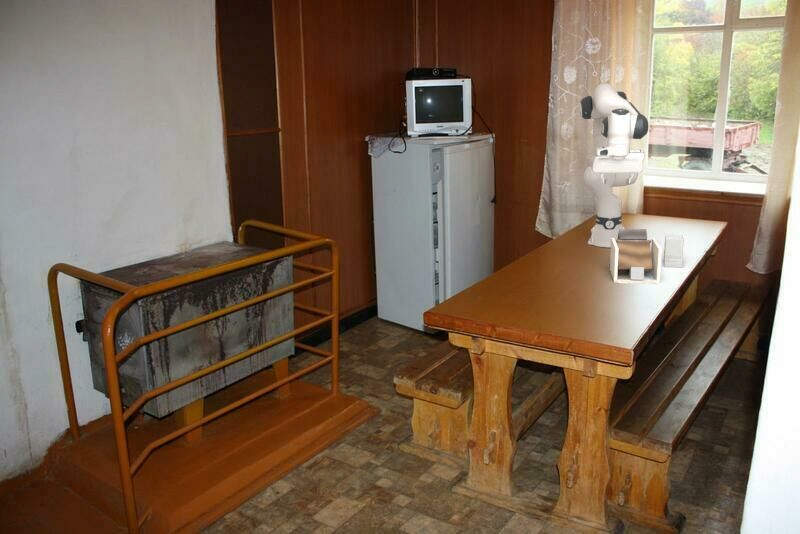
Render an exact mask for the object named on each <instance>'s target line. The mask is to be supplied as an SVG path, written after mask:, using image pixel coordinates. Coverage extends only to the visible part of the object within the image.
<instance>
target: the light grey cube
mask: <svg viewBox="0 0 800 534" xmlns="http://www.w3.org/2000/svg"><path fill="white" fill-rule="evenodd" d="M628 271H629V272H628V273H629V274H628V275H629V278H628V280H645V270H644V267H630V268H629V270H628Z"/></svg>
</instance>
